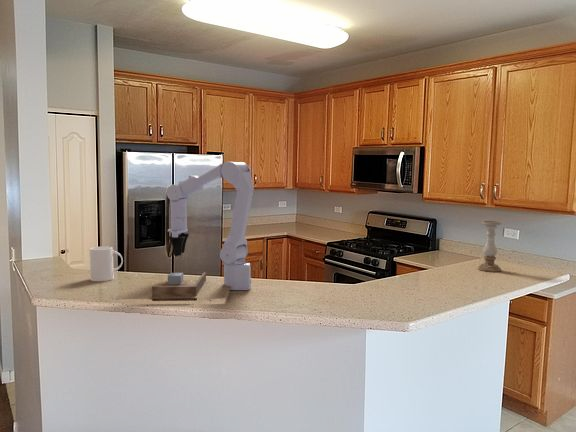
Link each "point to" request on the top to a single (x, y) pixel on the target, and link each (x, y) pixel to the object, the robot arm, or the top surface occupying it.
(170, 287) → the board
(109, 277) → the mug
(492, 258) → the candle holder
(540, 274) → the top surface
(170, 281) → the block
